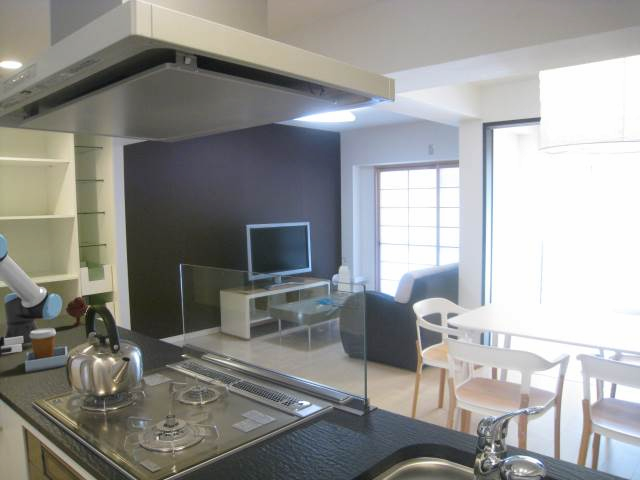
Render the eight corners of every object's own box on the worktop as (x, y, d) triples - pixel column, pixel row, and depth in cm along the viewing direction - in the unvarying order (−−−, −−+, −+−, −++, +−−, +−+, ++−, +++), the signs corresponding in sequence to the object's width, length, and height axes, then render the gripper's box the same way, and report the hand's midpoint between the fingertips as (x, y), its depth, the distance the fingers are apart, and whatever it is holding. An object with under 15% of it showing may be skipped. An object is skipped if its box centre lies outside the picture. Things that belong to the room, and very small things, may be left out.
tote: (27, 362, 204) (26, 352, 203) (67, 355, 211) (66, 346, 210) (25, 372, 191) (24, 362, 191) (68, 365, 198) (67, 355, 197)
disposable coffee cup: (47, 363, 197) (46, 333, 197) (25, 363, 198) (23, 333, 198) (62, 356, 207) (61, 327, 206) (41, 356, 208) (39, 327, 207)
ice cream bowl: (86, 321, 274) (84, 294, 273) (92, 324, 265) (90, 296, 264) (65, 325, 267) (62, 297, 266) (70, 328, 259) (68, 300, 257)
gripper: (-38, 354, 197) (24, 345, 207) (-49, 372, 176) (22, 360, 186) (-40, 335, 197) (23, 327, 207) (-51, 351, 175) (20, 341, 185)
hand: (22, 343), depth 196 cm, fingers open, 13 cm apart
